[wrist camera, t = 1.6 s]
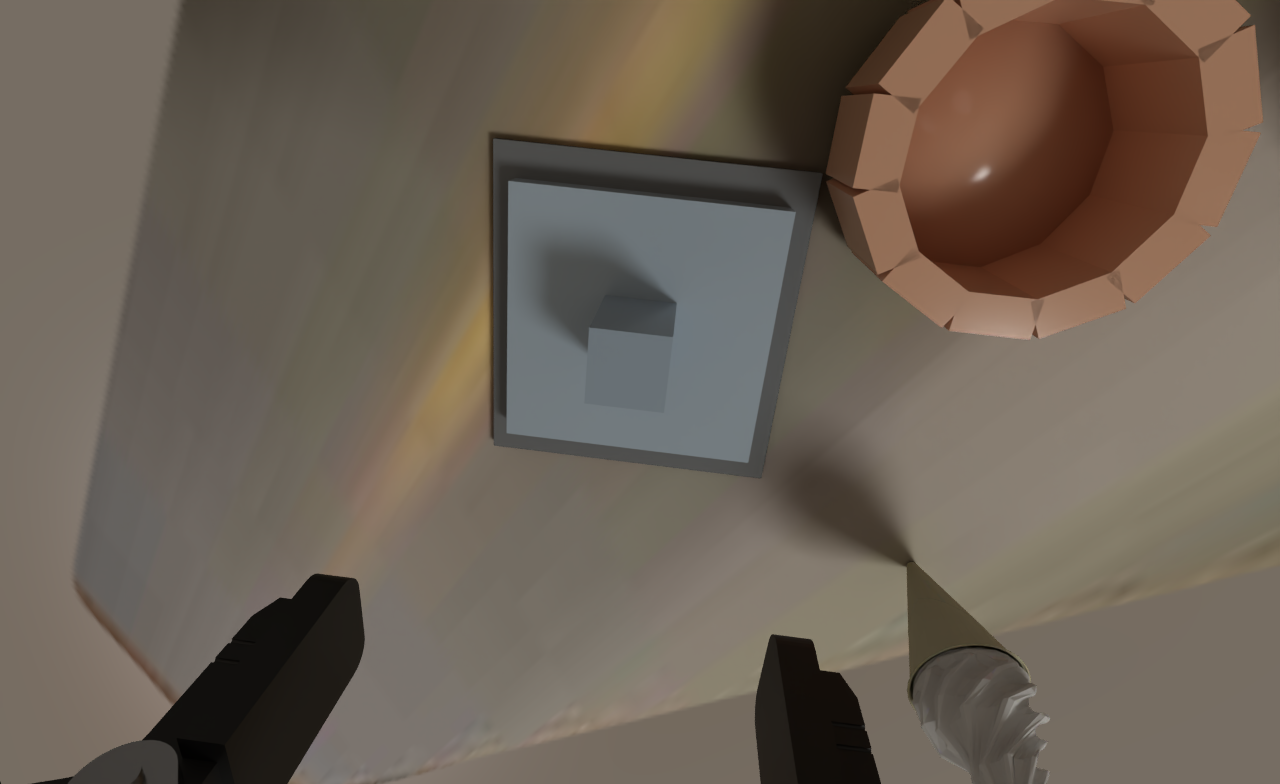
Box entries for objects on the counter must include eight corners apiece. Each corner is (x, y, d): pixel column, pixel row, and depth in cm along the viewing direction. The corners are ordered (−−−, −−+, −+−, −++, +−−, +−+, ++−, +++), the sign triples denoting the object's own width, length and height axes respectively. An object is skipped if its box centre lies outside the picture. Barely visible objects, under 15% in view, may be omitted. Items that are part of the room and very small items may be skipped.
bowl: (863, -38, 24) (912, -80, 18) (1191, -7, 23) (1341, -41, 18) (800, 276, 29) (823, 316, 23) (1069, 306, 28) (1157, 354, 23)
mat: (495, 138, 28) (492, 138, 27) (821, 172, 27) (822, 173, 27) (495, 441, 34) (493, 445, 33) (760, 474, 33) (761, 478, 33)
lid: (515, 177, 28) (472, 194, 22) (792, 207, 27) (814, 232, 22) (512, 422, 33) (477, 482, 27) (746, 450, 32) (755, 518, 27)
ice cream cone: (941, 513, 33) (1111, 796, 20) (972, 583, 35) (1148, 889, 21) (849, 546, 35) (948, 833, 21) (882, 612, 36) (994, 918, 23)
